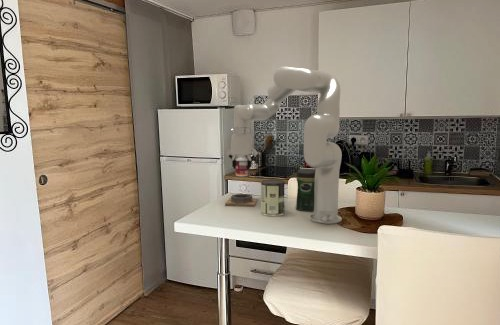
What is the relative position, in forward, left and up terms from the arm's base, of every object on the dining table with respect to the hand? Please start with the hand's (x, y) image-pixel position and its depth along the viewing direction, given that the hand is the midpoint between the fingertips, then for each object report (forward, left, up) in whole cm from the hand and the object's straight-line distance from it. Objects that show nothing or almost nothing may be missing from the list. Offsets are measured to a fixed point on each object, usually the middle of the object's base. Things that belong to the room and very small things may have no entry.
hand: (241, 168), depth 177 cm
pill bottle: (0, 0, -4) cm, 4 cm away
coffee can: (-18, -16, -17) cm, 30 cm away
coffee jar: (-9, -31, -17) cm, 37 cm away
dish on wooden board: (0, 0, -17) cm, 17 cm away
